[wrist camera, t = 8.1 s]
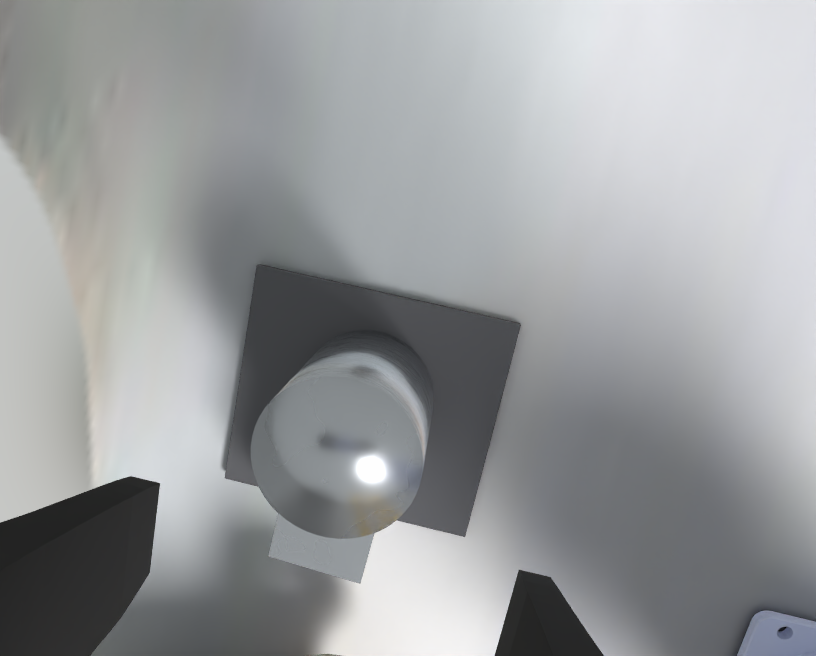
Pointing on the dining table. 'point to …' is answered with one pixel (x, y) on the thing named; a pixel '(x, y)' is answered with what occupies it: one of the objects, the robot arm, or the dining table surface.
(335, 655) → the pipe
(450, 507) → the mat
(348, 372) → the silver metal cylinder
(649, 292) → the dining table surface
